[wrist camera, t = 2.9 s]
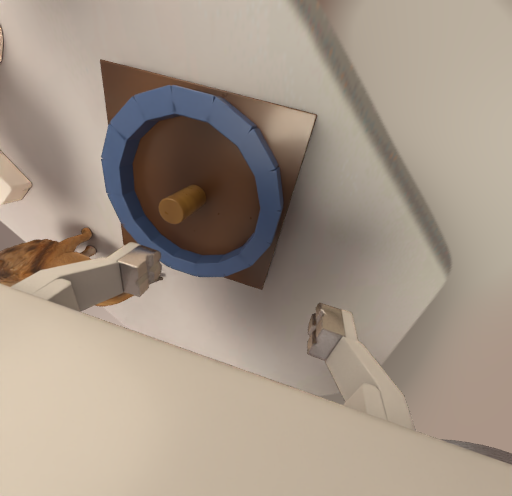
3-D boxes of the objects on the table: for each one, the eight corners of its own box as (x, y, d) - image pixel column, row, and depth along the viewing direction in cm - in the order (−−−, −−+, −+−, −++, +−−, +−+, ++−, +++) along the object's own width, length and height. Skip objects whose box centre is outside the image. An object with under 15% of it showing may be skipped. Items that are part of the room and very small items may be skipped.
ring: (309, 119, 15) (308, 119, 13) (259, 286, 23) (255, 296, 21) (105, 67, 16) (85, 62, 15) (126, 242, 24) (114, 250, 23)
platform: (316, 115, 16) (318, 112, 11) (265, 278, 25) (253, 319, 19) (120, 65, 17) (40, 41, 12) (135, 236, 26) (92, 264, 21)
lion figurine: (65, 248, 30) (-21, 292, 22) (58, 214, 27) (-44, 250, 19) (164, 289, 29) (111, 348, 22) (167, 258, 26) (108, 314, 19)
